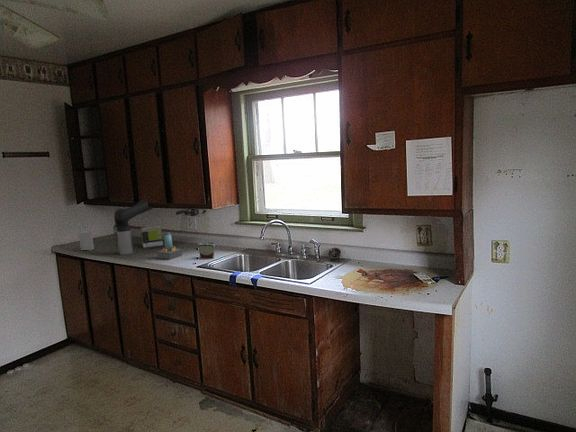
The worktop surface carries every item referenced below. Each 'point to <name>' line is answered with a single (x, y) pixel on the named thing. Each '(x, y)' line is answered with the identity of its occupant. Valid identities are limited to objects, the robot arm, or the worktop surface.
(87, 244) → the skincare box
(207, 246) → the food container
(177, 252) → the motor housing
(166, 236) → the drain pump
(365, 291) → the worktop surface
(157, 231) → the tea box
